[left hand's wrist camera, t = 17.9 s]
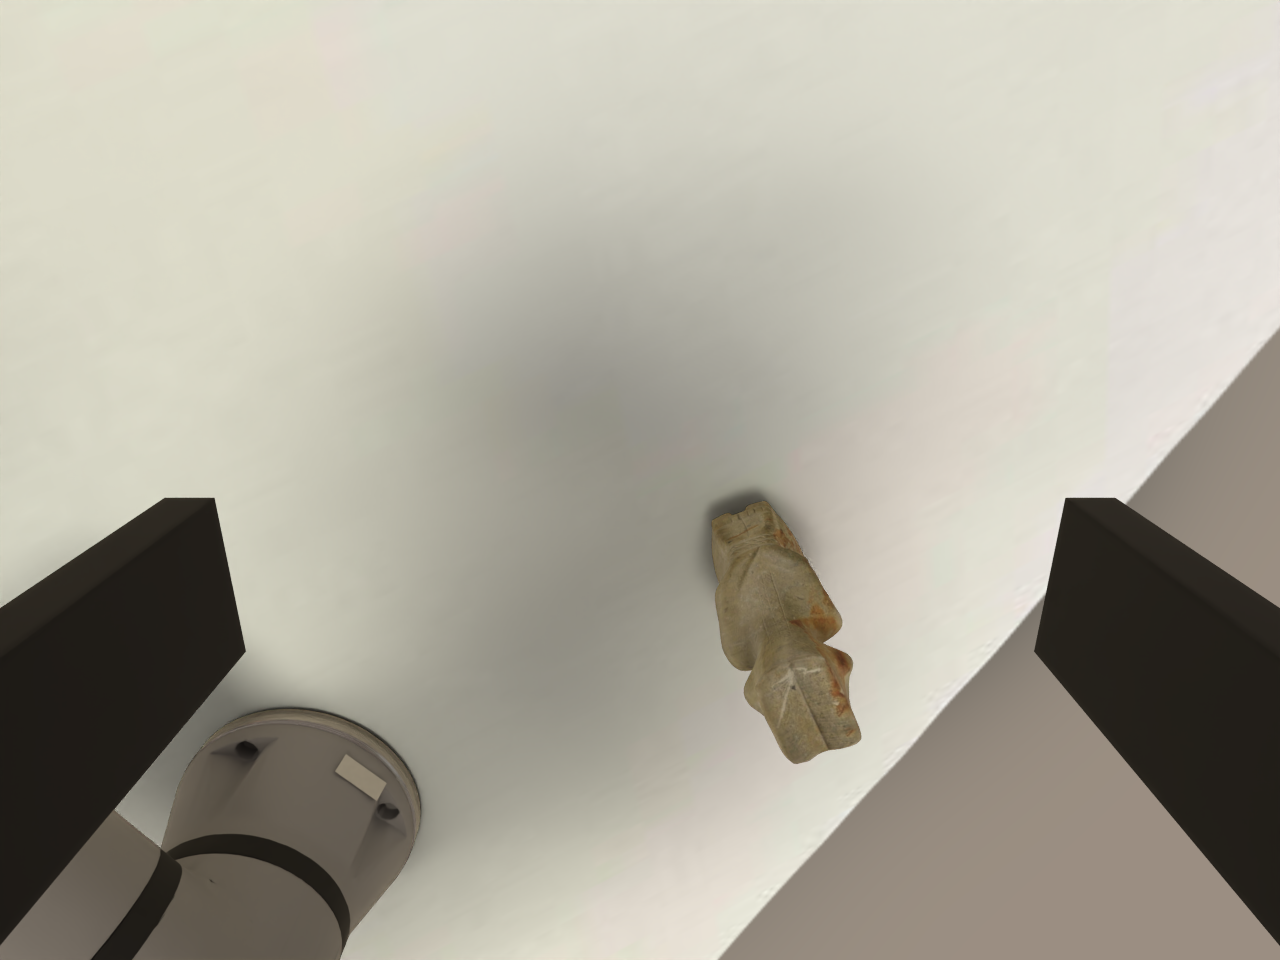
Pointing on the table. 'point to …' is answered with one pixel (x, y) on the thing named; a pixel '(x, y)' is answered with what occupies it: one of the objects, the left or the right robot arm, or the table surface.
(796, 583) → the sculpture
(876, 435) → the table surface
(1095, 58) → the table surface
